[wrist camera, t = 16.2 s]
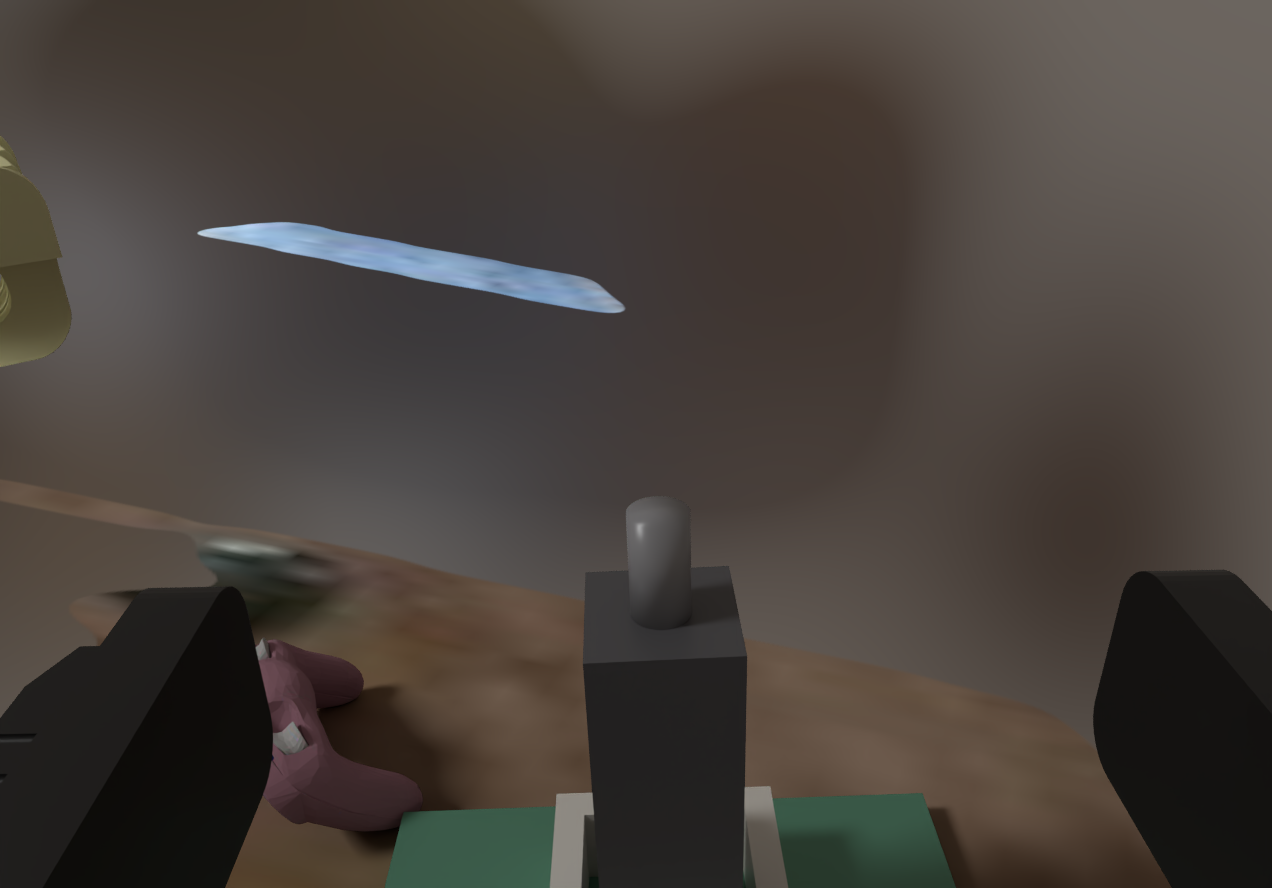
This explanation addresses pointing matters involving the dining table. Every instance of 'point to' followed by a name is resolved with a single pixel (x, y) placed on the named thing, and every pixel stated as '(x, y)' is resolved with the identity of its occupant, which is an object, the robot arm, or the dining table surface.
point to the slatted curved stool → (28, 270)
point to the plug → (665, 711)
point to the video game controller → (323, 747)
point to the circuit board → (773, 845)
